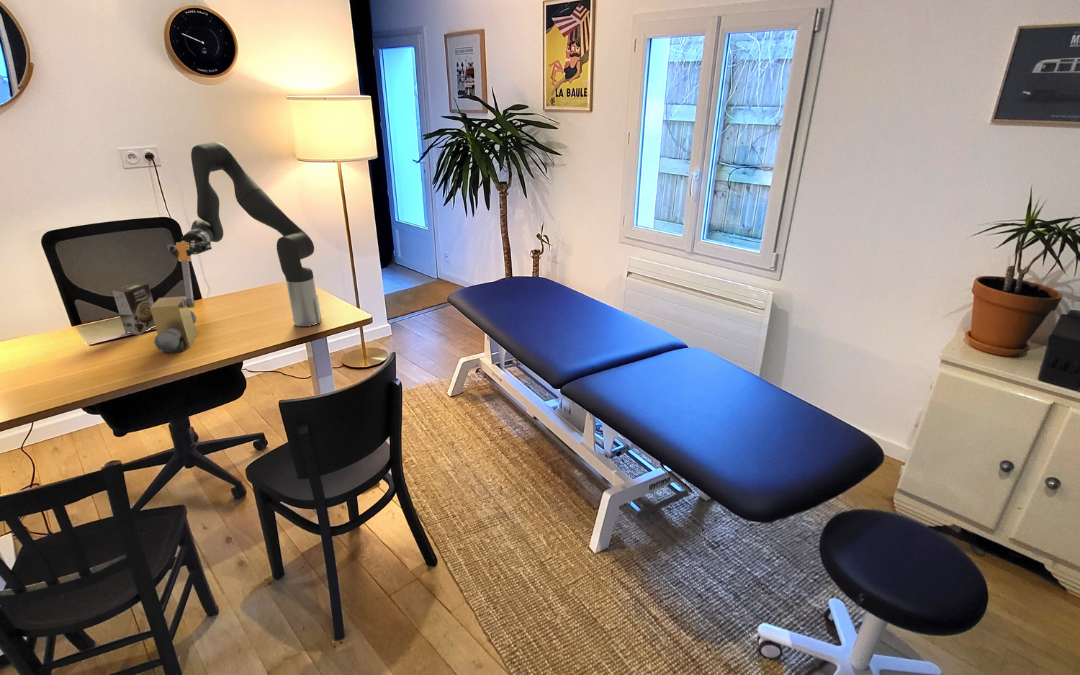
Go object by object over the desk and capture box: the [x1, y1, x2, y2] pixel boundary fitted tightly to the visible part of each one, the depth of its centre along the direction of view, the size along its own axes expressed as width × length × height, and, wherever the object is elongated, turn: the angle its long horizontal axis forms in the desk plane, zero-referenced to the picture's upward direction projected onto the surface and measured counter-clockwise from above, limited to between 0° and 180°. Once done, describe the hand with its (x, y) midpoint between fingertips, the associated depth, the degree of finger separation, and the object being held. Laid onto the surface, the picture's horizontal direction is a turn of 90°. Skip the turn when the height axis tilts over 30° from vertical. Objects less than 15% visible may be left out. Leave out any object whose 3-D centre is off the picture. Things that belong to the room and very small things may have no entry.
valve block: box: [150, 295, 198, 355], centre depth 185 cm, size 9×21×16 cm, turn 16°
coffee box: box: [111, 282, 155, 336], centre depth 195 cm, size 9×6×16 cm
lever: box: [175, 241, 196, 309], centre depth 184 cm, size 3×3×22 cm
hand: (181, 253), depth 181 cm, fingers closed on lever, 3 cm apart
